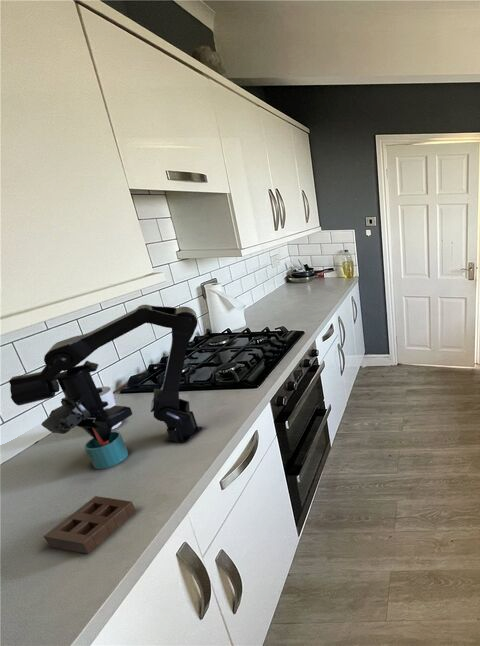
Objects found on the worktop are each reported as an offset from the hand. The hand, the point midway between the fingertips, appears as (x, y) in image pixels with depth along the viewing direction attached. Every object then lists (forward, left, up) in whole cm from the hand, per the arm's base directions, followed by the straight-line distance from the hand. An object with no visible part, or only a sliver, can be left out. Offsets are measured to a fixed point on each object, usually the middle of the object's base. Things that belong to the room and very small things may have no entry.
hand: (103, 440), depth 92 cm
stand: (+18, +18, -6) cm, 26 cm away
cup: (-12, -16, -6) cm, 21 cm away
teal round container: (0, 0, -6) cm, 6 cm away
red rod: (0, 0, -4) cm, 5 cm away
